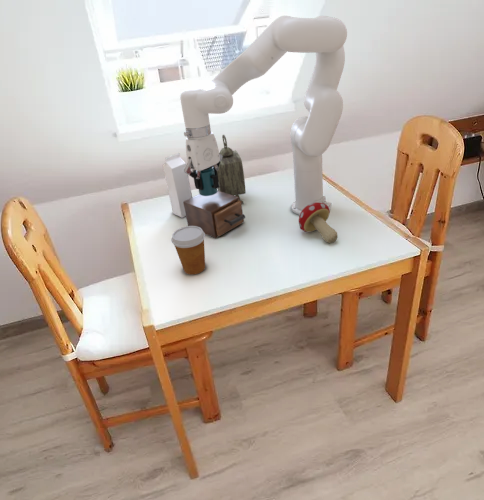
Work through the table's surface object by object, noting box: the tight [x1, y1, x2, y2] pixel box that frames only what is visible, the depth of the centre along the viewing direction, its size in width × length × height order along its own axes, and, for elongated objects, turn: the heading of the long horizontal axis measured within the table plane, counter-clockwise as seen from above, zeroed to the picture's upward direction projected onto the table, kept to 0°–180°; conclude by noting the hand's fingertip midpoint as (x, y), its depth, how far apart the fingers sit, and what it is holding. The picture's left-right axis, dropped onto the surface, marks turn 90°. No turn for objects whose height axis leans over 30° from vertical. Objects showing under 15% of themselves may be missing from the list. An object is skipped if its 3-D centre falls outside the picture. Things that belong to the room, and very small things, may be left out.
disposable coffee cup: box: [171, 225, 206, 276], centre depth 126 cm, size 10×10×12 cm
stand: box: [183, 189, 240, 239], centre depth 149 cm, size 14×13×10 cm
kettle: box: [196, 166, 219, 196], centre depth 143 cm, size 11×6×10 cm, turn 47°
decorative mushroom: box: [298, 202, 339, 244], centre depth 136 cm, size 11×11×15 cm
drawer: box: [213, 201, 246, 237], centre depth 146 cm, size 17×11×8 cm
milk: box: [162, 152, 193, 219], centre depth 156 cm, size 6×6×22 cm
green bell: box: [217, 134, 247, 205], centre depth 160 cm, size 14×9×25 cm, turn 13°
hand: (207, 185), depth 144 cm, fingers closed on kettle, 6 cm apart
